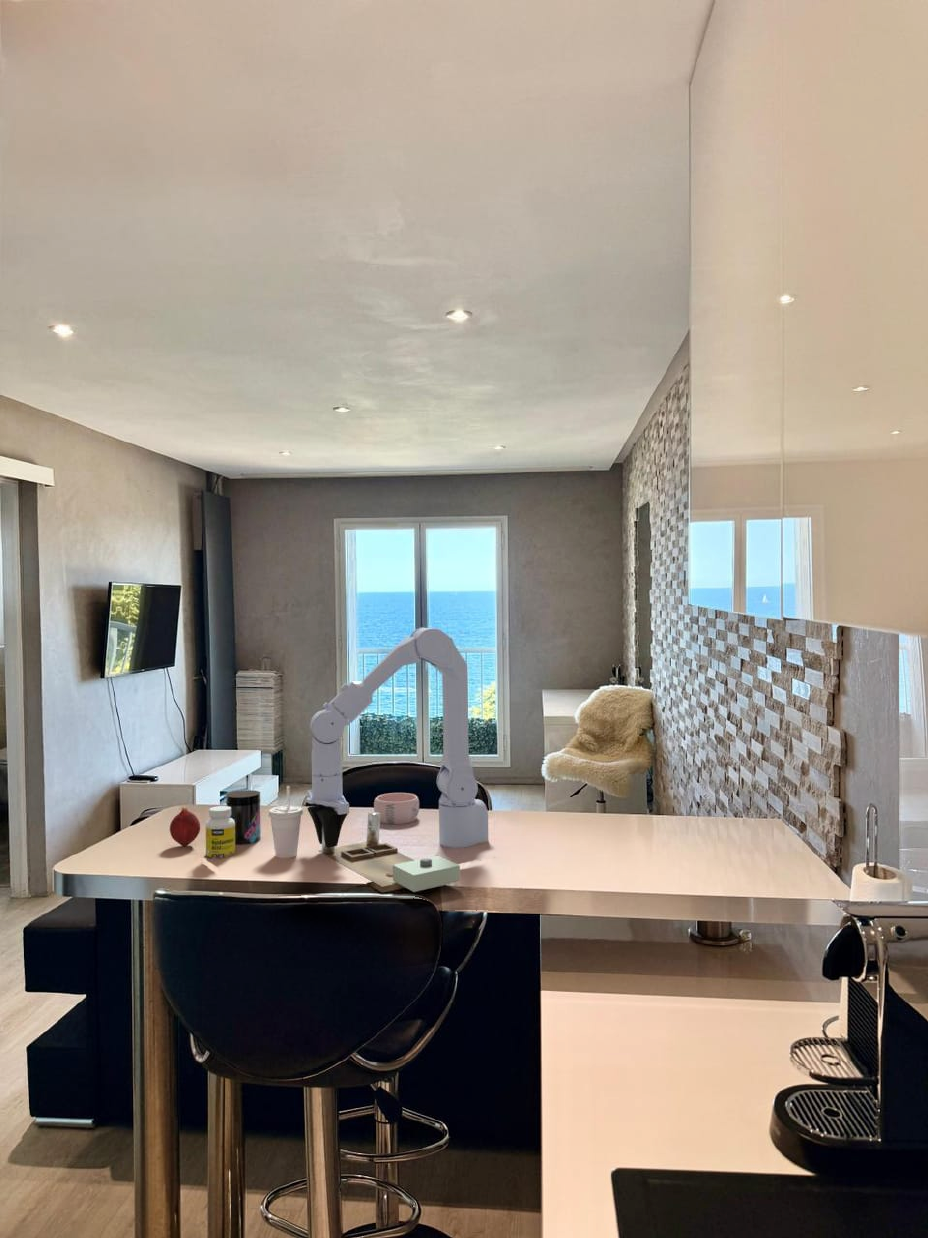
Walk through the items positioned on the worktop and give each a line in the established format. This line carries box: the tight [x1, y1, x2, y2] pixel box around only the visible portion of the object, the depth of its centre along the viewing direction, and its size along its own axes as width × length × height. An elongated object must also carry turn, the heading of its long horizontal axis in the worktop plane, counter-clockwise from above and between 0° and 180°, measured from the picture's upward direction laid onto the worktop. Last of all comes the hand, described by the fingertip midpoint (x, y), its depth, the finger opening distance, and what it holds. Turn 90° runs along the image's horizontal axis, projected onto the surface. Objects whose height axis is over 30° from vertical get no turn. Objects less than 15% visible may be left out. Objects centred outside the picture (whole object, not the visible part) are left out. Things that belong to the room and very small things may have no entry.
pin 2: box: [365, 811, 381, 846], centre depth 166 cm, size 2×2×6 cm
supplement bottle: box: [205, 805, 236, 863], centre depth 160 cm, size 5×5×10 cm
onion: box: [169, 806, 201, 848], centre depth 169 cm, size 6×6×8 cm
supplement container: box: [225, 789, 262, 846], centre depth 170 cm, size 7×7×10 cm
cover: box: [393, 855, 461, 893], centre depth 142 cm, size 9×7×4 cm
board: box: [318, 841, 415, 893], centre depth 154 cm, size 12×26×2 cm, turn 34°
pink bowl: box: [373, 792, 420, 825], centre depth 187 cm, size 12×10×6 cm
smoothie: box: [268, 785, 304, 859], centre depth 159 cm, size 6×6×14 cm
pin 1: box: [321, 827, 336, 853], centre depth 160 cm, size 2×2×6 cm
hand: (328, 844), depth 160 cm, fingers closed on pin 1, 2 cm apart
